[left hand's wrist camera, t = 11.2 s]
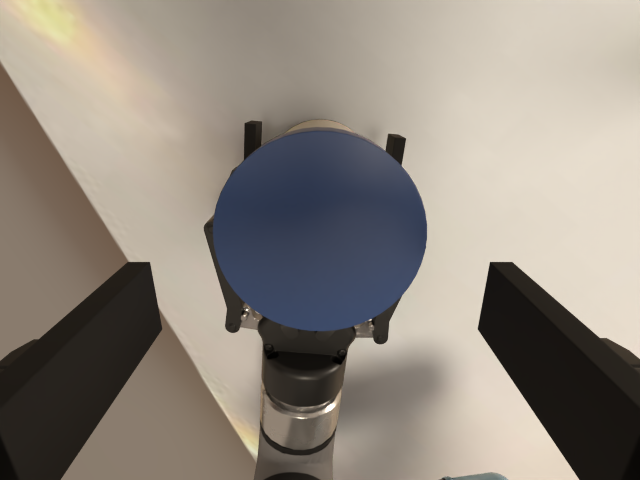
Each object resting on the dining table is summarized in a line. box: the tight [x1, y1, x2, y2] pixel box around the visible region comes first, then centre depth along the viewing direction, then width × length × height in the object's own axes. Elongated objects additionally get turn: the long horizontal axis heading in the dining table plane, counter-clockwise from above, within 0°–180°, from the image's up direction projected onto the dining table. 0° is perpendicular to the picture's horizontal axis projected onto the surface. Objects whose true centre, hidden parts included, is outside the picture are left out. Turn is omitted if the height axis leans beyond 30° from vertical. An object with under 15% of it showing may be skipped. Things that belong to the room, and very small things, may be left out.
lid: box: [213, 127, 427, 331], centre depth 19 cm, size 10×10×2 cm
